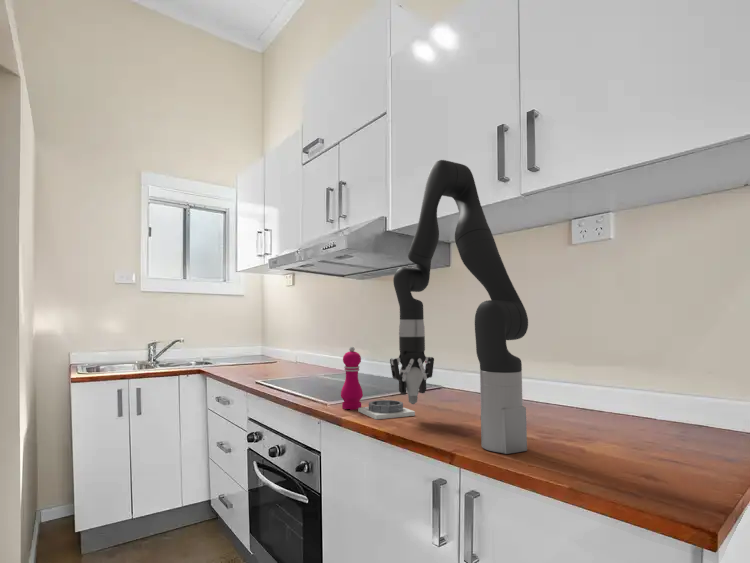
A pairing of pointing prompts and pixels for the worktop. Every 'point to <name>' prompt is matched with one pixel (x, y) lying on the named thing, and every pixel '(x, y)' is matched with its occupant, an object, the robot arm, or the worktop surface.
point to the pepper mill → (351, 381)
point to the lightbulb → (413, 383)
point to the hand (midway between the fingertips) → (412, 393)
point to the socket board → (386, 415)
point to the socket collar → (385, 406)
